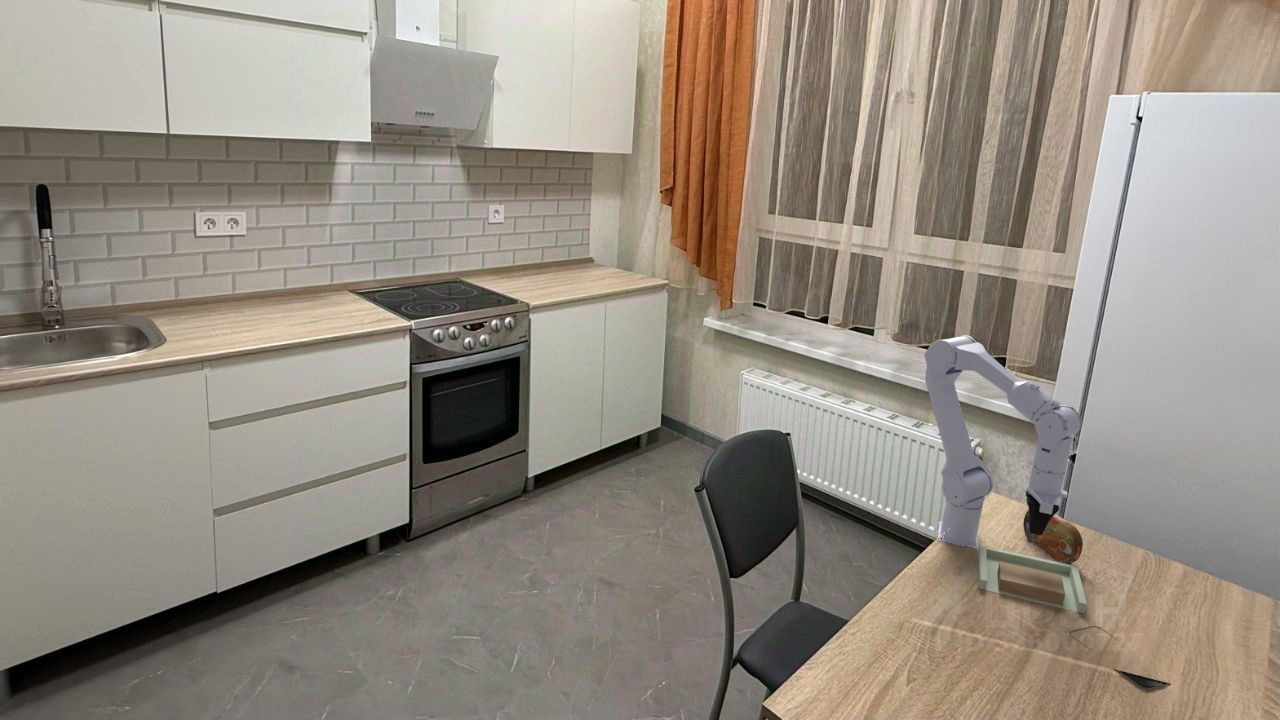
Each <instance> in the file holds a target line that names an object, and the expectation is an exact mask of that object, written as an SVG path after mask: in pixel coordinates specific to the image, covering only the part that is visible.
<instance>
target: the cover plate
mask: <svg viewBox="0 0 1280 720" xmlns="http://www.w3.org/2000/svg"><path fill="white" fill-rule="evenodd" d="M997 575H998V590H999V591H1003V592H1007V593H1011V594H1016V595H1020V596H1024V597H1028V598H1032V599H1037V600H1041V601H1045V602H1049V603H1054V604H1058V605H1062V606H1063V602H1064V598H1065V590H1064V585H1063V580H1062V575H1059V574H1054V573H1050V572H1045V571H1041V570H1036V569H1032V568H1027V567H1023V566H1018V565H1014V564H1010V563H1005V562H1001V561H1000V562H999V567H998V571H997Z"/></svg>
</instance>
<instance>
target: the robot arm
mask: <svg viewBox="0 0 1280 720" xmlns="http://www.w3.org/2000/svg"><path fill="white" fill-rule="evenodd" d="M924 359H925V362H926V369H925V378H924V379H925V384H926V385H925V386H926V387H927V388H926V389H927V391H928V392H927V393H928V395H929V399H930V403H931V406H932V410H933V415H934V417H935V421H936V425H937V428H938V431H939V436H940V439H941V444H942V446H943V450H944V454H945V458H946V461H945V463H944V465H943V467H942V469H941V470H940V471H941V476H942V484H941V489H942V493H943V496H944V497H945V506H944V510H943V514H942V515H943V516H942V521H941V520H939V522H938V534H937V535H938V536H937V539H938V538H939V537H940V536H941V535H942V534H943V533H944V532H945V534H943V536H944V538H943V536H942V537H941V538H943V539H942V540H941V538H939V540H941V541H940V542H942V541H943V543H946V542H947V544H951V543H952V544H951V545H955V544H956V545H955V546H960V545H961V547H964V546H967V547H966V548H969V547H972V548H971V549H973V548H974V549H973V550H978V549H979V526H980V521H981V516H982V511H983V505H984V502H985V497H986V496H988V495H989V494H990V493H991V492H992V491H993V488H994V481H993V477H992V476H991V474H990V473H989V472H988V470H987V469H986V466H985V463H984V461H983V460H982V459H980V458H979V457H978V456H977V455H975V454H974V451H973V450H974V449H973V446H972V444H971V439H970V437H969V432H968V429H967V426H966V421H965V417H964V414H963V411H962V406H961V403H960V400H959V396H958V392H957V389H956V385H955V382H957V379H958V378H959V376H960V375H961V373H962V372H963V371H969V372H970V371H971V372H976V374H978V375H979V376H981V377H983V379H985V380H987V381H988V382H989V383H991V384H992V385H994V386H995V387H996V388H998V389H999V390H1001V391H1002V392H1003V393H1005V394H1006V397H1007V403H1008V404H1009V405H1010V406H1012V407H1013V408H1014V409H1015V410H1016V411H1018V412H1019V413H1020V414H1021V415H1023V416H1024V417H1025V418H1026V419H1027V420H1028V421H1030V423H1032V424H1033V425H1034V429H1035V431H1036V434H1037V442H1036V447H1035V452H1034V456H1033V462H1032V466H1031V470H1030V475H1029V478H1028V479H1029V480H1028V482H1027V484H1026V490H1025V497H1026V503H1027V504H1026V505H1027V507H1028V510H1029V529H1030V533H1032V534H1037V535H1042V534H1043V532H1044V530H1045V528H1046V526H1047V524H1048V522H1049V521H1050V519H1051V518H1052V517H1053V516H1054V515H1055V514H1057V513H1058V512H1059V511H1060V506H1059V505H1058V504H1056V503H1057V502H1058V501H1059V500H1060V499H1061V498H1065V499H1066V498H1068V491H1067V490H1063V486H1064V485H1063V484H1064V480H1065V475H1066V471H1067V467H1068V463H1069V458H1070V453H1071V449H1072V445H1073V440H1074V435H1076V434H1078V433H1079V431H1080V430H1081V429H1082V426H1083V425H1082V423H1083V421H1082V420H1083V419H1082V417H1081V415H1080V413H1079V412H1078V411H1077V410H1076V409H1075V408H1074V407H1073V406H1072V405H1065V404H1064V405H1063V404H1061V403H1060V402H1059V400H1057V399H1055V400H1054V399H1053V398H1052V397H1050V396H1049V395H1048V394H1047V393H1045V392H1044V391H1043V390H1041V389H1040V388H1041V386H1040V385H1039V384H1038V383H1037V382H1031V381H1030V380H1024V381H1020V379H1018V378H1017V377H1015V375H1013V374H1012V373H1011V372H1010V371H1009V370H1008V369H1006V368H1005V367H1004V366H1003V365H1002V364H1000V363H999V362H998V360H996V359H995V357H993V356H991V354H989V353H988V351H986V348H985V347H984V345H983V344H982V343H980V342H977V340H975V338H973V337H972V336H970V335H966V334H965V335H964V334H963V335H959V336H957V337H951V338H946V339H936V340H934V341H932V342H931V343H930V344H929V347H928V348H927V349H926V351H925V352H924ZM949 528H950V529H949ZM948 529H949V530H948ZM947 530H948V531H947ZM939 540H938V541H939ZM962 545H963V546H962ZM976 546H977V547H976Z"/></svg>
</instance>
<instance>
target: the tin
mask: <svg viewBox="0 0 1280 720" xmlns="http://www.w3.org/2000/svg"><path fill="white" fill-rule="evenodd" d="M1022 524H1023V525H1022V526H1023V530H1024V531H1023V532H1024V535H1025V538H1026V539H1027V540H1029V541H1030V542H1031V543H1030V542H1029V541H1028V542H1029V543H1030V544H1034V545H1035V544H1036V545H1037V546H1038V547H1039V548H1041V549H1042V550H1043V551H1044V552H1045V553H1047V554H1048V555H1049V556H1051V558H1053V559H1054V560H1056V562H1060V563H1065V564H1072V563H1076V562H1077V561H1078V560H1079V559H1080V557H1081V555H1082V552H1083V545H1084V543H1083V542H1084V541H1083V537H1082V535H1081V533H1080V530H1078V528H1077V527H1075V525H1074V524H1072V523H1070V522H1069V521H1067V520H1066V519H1064V518H1063V517H1062V516H1060V515H1059V514H1057V513H1056V514H1055V515H1054V516H1053V517H1052V518H1051V519H1050V521H1049V522H1048V524H1047V526H1046V528H1045V530H1044V532H1043V534H1042V535H1037V534H1032V533H1030V529H1029V509H1028V510H1027V511H1026V513H1025V515H1024V517H1023V523H1022Z"/></svg>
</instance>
